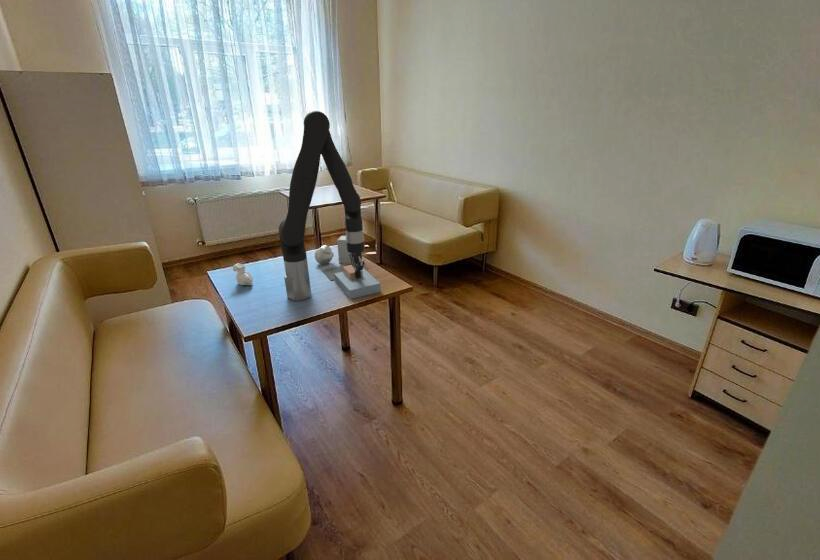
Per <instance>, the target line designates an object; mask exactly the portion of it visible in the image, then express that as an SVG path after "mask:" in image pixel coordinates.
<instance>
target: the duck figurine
mask: <svg viewBox="0 0 820 560" xmlns="http://www.w3.org/2000/svg"><path fill="white" fill-rule="evenodd" d="M245 269H246V266H245V265H244V264H242V263H239V262H237V263H235V264H233V266H232V271H234V272H237V273H236V276H235V280H236V282H237V283H238V285H240V286H253V276H252V275H251V274H250V273H249V271H247V270H245Z"/></svg>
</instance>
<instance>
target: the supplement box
mask: <svg viewBox="0 0 820 560" xmlns="http://www.w3.org/2000/svg"><path fill="white" fill-rule="evenodd" d="M336 244H337V253H338V264H344V265H349V264H352V263H351V260H350V256H349V254H351V253H349V252H348V251H347V244H346V235H341V236H340V237H339V238H337V242H336Z"/></svg>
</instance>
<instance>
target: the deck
mask: <svg viewBox="0 0 820 560" xmlns="http://www.w3.org/2000/svg"><path fill="white" fill-rule="evenodd" d="M362 271H363V277H361V278H358V279H357V278H356V279H351V280H350V279H349V278H348V277H347V276H346V275H345V274H344V273H343V272H339V273H335V274H334V277H335V280H334V282H335V283H336V285H337V286H338V287H339V288H340V289H341V290H342V291H343V292H344V294H345V295H346V296H347V297H348V298H349V299H350V300H352V299H356V298H360V297H364V296H368V295H372V294H377V293H381V283H380V281H378V279H376V278H375V277H374V276H373V275H372V274H371V273H369V271H367V270H366V269H365V268H364V267H363V270H362Z"/></svg>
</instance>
